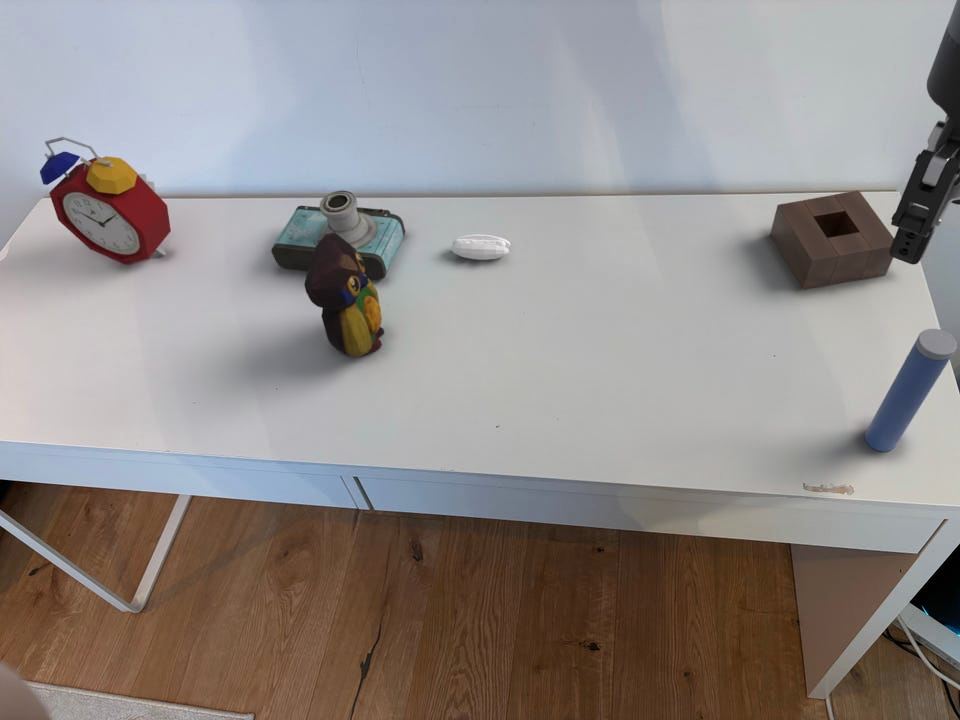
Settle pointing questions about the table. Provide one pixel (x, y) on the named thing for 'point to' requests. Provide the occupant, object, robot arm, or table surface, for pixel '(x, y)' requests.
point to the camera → (340, 233)
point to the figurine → (344, 297)
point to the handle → (910, 388)
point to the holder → (832, 239)
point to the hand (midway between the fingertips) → (927, 227)
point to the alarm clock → (107, 205)
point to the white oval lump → (480, 247)
